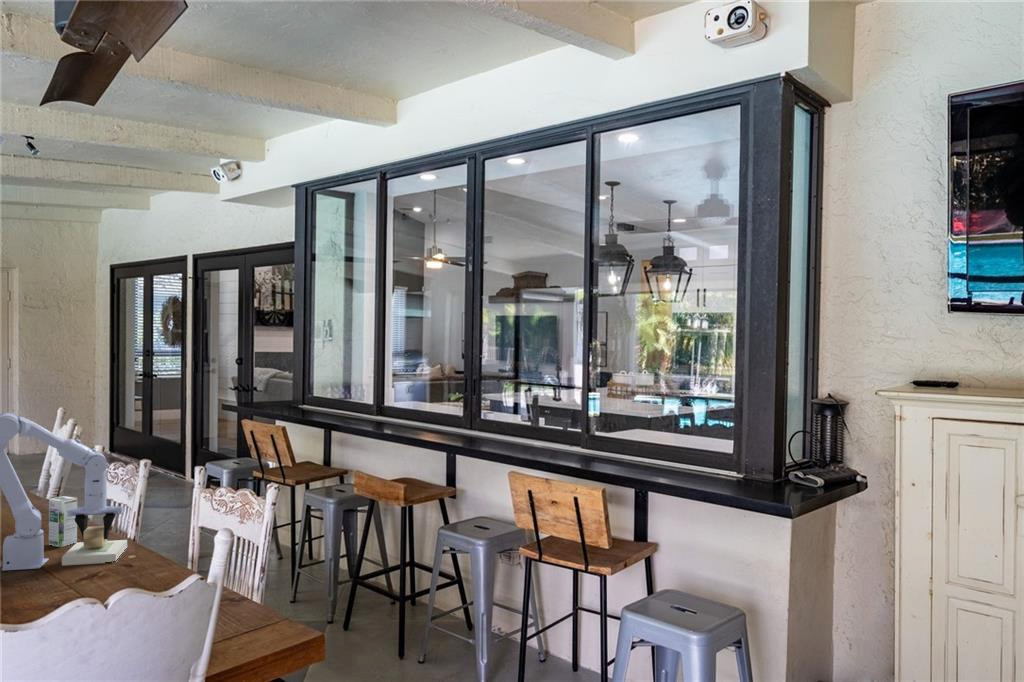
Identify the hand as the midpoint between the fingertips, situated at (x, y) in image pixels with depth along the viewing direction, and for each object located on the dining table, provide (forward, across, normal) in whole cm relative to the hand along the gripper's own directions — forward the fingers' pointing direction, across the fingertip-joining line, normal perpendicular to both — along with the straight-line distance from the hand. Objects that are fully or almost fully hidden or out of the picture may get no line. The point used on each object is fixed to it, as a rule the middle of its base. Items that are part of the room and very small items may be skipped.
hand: (95, 539), depth 225 cm
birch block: (+2, 0, 0) cm, 2 cm away
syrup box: (+5, -13, +15) cm, 21 cm away
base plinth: (+5, 0, 0) cm, 5 cm away
